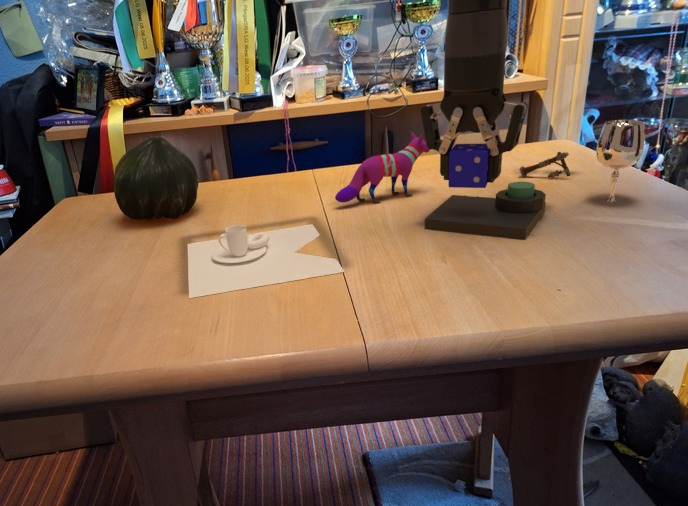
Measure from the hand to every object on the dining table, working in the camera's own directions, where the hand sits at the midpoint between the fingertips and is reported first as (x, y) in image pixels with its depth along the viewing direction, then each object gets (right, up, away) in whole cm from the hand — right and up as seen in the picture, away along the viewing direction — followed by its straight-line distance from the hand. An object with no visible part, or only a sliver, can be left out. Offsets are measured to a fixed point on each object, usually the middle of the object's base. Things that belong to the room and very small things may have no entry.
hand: (469, 179), depth 79 cm
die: (0, -1, 0) cm, 1 cm away
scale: (+3, -5, +3) cm, 7 cm away
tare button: (+8, -2, +2) cm, 9 cm away
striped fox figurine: (-9, 0, +18) cm, 20 cm away
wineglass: (+22, -3, +3) cm, 22 cm away
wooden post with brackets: (+20, +4, +20) cm, 28 cm away
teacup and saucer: (-30, -11, 0) cm, 32 cm away
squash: (-48, -2, +23) cm, 54 cm away
